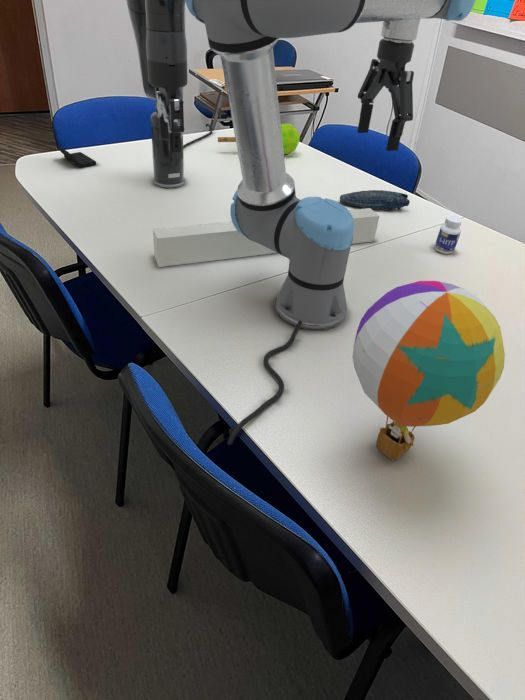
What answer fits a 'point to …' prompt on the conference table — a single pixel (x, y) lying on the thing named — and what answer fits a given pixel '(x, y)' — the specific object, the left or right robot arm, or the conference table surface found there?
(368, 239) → the beam
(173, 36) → the left robot arm
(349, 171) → the conference table surface
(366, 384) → the toy
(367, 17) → the right robot arm
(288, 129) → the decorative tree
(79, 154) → the black handled tool
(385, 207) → the fish model
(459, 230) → the pill bottle
